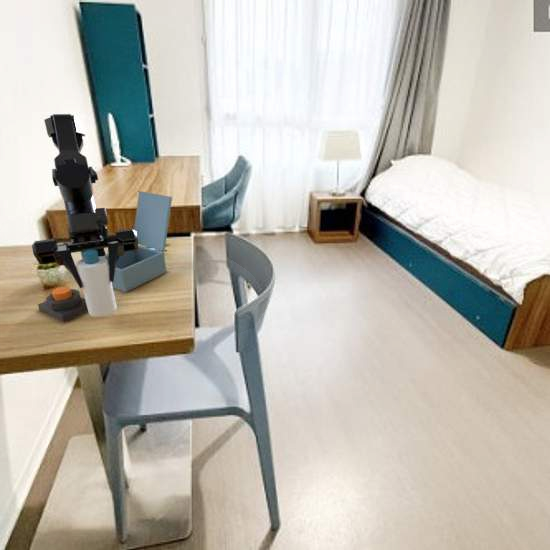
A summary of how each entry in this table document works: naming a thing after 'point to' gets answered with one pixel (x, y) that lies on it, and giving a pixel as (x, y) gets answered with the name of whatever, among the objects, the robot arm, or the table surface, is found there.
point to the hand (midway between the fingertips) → (96, 284)
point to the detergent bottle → (96, 284)
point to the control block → (64, 306)
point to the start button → (62, 293)
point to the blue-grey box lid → (152, 219)
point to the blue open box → (137, 268)
